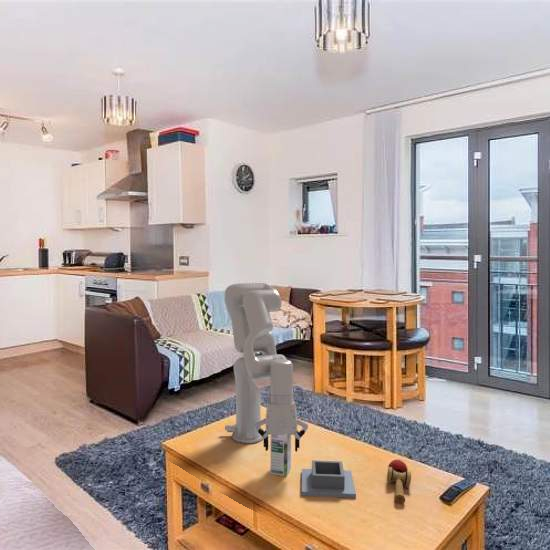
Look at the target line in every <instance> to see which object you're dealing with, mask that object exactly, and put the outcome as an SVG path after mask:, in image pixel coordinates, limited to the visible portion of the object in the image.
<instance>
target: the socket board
mask: <svg viewBox="0 0 550 550" xmlns="http://www.w3.org/2000/svg"><path fill="white" fill-rule="evenodd" d="M355 488H356V487H355V483H354V478H353V474H352V470H349V469H347V470H345V469H344V464H343V461H341V460H340V461H339V460H338V461H337V460H313V459H312V460H311V468H301V496H302V497H326V498H327V497H329V498H330V497H331V498H347V499H348V498H352V499H357V491H356V489H355Z"/></svg>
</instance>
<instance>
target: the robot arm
mask: <svg viewBox="0 0 550 550" xmlns="http://www.w3.org/2000/svg"><path fill="white" fill-rule="evenodd" d="M224 303H225V306H226V309H227V312H228V314H229V317H230V320H231V327H232V335H233V343H234V349H235V350H236V352H238V353H239V354H243V355H242V357H238V358H237V359H236V360H235V361H234V363H233V374H234V380H235V381H234V382H235V424H233V425H232V424H231V425H230V424H225V425H224V431H226V432H227V433H231V438H232V440H233V441H234V442H236V443H240V442H241V444H255V443H258V442H261V441H262V440H263V448H265V452H267V451H268V450H269V436H270V435H271V434H273V435H284V434H286V433H287V435H291V436H292V435H293V436H294V451H295V452H298V449H300V439H301V438H302V437H303V436H304V435H305V434H306V432H307V430H308V428H309V424H308V423H306V422H304V421H303V420H301V419H299V418H298V414H297V406H296V402H295V400H294V364H293V362H292V361H291V360H290V359H287V358H286V356H285V355H284V354H278V353H277V347H276V341H275V336H274V334H273V332H272V331H273V329H274V324H273V321H272V316H271V313H274V312H279V311H280V310H281V307H282V297H281V295H280V293H279V292H278V290H277V289H276V288H274V287H272V285H269V284H268V283H266V282H265V283H264V282H244V283H234V284H231V285H228V286H227V287H226V288H225V291H224ZM259 352H260V353H261V354H258V355H255V353H259ZM265 380H269V393H266V394H265V399H268V401H267V404H266V410H265V411H266V414H265V418H263V419H261V417H262V416H261V415H262V414H261V412H262V411H261V409H262V408H261V397H262V396H261V389H260V388H259V387H258V385H256V383H255V382H259V381H265ZM264 425H265V430H264V429H263V428H262V427H261V426H264ZM298 426H300V427H301V430H298Z"/></svg>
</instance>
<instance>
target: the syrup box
mask: <svg viewBox="0 0 550 550" xmlns="http://www.w3.org/2000/svg"><path fill="white" fill-rule="evenodd" d="M269 439H270V464H269V465H270V468H269V469H270V470H269V473H270V475H275V476H276V475H277V476H282V477H287V476H288V475H289V473H290V471H291V469H292V435H287V433H286V434H284V435H273V434H270V437H269Z"/></svg>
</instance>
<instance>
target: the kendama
mask: <svg viewBox="0 0 550 550" xmlns="http://www.w3.org/2000/svg"><path fill="white" fill-rule="evenodd" d="M386 482H388V483H391V482H395V486H394V487H395V490H394V491H395V492H394V501H395V503H396V504H398V505H402V504H405V502H406V497H405V492H404V487H405V488H410V486H411V482H412V472H411V471H410V470H408V465H406V463H405V462H404V460H403V461H402V460H400V459H394V460H392V461H390V463H388V467H387V474H386Z"/></svg>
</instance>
